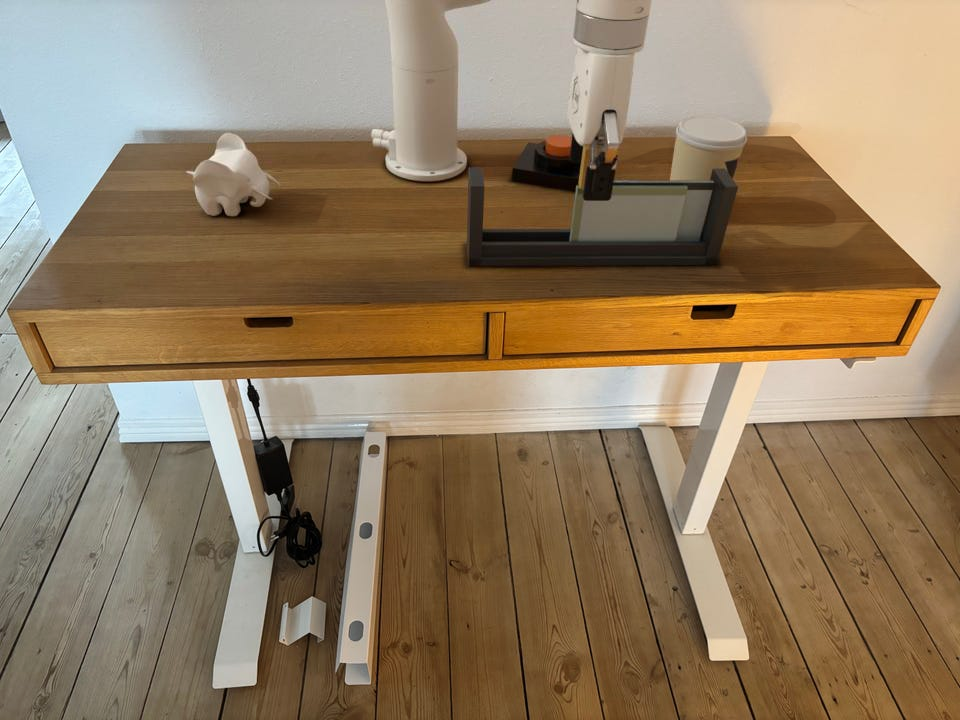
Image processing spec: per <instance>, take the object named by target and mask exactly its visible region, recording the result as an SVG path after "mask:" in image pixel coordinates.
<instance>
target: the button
mask: <svg viewBox="0 0 960 720" xmlns="http://www.w3.org/2000/svg"><path fill="white" fill-rule="evenodd" d="M545 140H546V146H545V152H546V153H548V154H551V155H553V156H560V157H562V156H570V149H571V141H572V136H568V135H563V134H555V135H550V136H548V137H547V138H546V139H545Z"/></svg>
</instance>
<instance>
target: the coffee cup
mask: <svg viewBox="0 0 960 720" xmlns="http://www.w3.org/2000/svg"><path fill="white" fill-rule="evenodd" d="M675 135H676V136H675V141H674V142H675V143H674V149H673V155H672V163H671V169H670V177H669V180H680V181H710V178H711V174H712V170H713V169H726V171H727V172H728V173H729V175H730V176H731V177H732V179H733V180H734V176H735V173H736V171H737V168H738V164H739V162H740V159H741V156H742V153H743V150H744V146H745V145H746V144H747V141H748V134H747V129H746V128H745V127H744V126H743V125H742V124H740V123H739V122H736V121H734V120H731V119H729V118H726V117H722V116H715V115H705V114H704V115H701V114H700V115H691V116H687V117H685V118H684V119H682V120H681V121H679V124H678V125H677V126H676V129H675Z"/></svg>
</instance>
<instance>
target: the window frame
mask: <svg viewBox="0 0 960 720" xmlns="http://www.w3.org/2000/svg"><path fill="white" fill-rule="evenodd" d="M467 176H468V177H467V180H468V182H467V214H466V215H467V217H466V219H467V220H466V227H467V228H466V254H467V261H468V262H467V264H468V267H572V266H573V267H579V266H580V267H581V266H583V267H586V266H588V267H589V266H591V267H593V266H596V267H597V266H598V267H599V266H601V267H603V266H607V267H608V266H613V267H614V266H717V264H718V260H719V256H720V253H721V250H722V246H723V243H724V239H725V236H726V232H727V228H728V226H729V223H730V218H731V215H732V211H733V208H734V204H735V202H736V201H735V200H736V196H737V193H738V191H739V190H738V189H739V186H738V184H737V183H736V182H735V180H734V178H733V179H732V177H731V176H730V175H729V173H728V172H727V171H726V169H713V170H712V174H711V178H710V181H680V180H670V179H669V180H665V179H663V180H655V179H654V180H653V179H652V180H648V179H645V180H644V179H643V180H641V179H639V180H638V179H637V180H636V179H635V180H634V179H632V180H630V179H627V180H626V179H621V180H620V179H618V180H617V179H614V183H613V186H687V188H688V189H687V193H686V197H685V201H684V206H683V210H682V214H681V218H680V223H679V227H678V231H677V235H676V240H675V241H647V242H569V240H570V232H571V228H484V208H485V187H486V186H485V182H484V181H485V180H484V173H483V167H468V175H467Z"/></svg>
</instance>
